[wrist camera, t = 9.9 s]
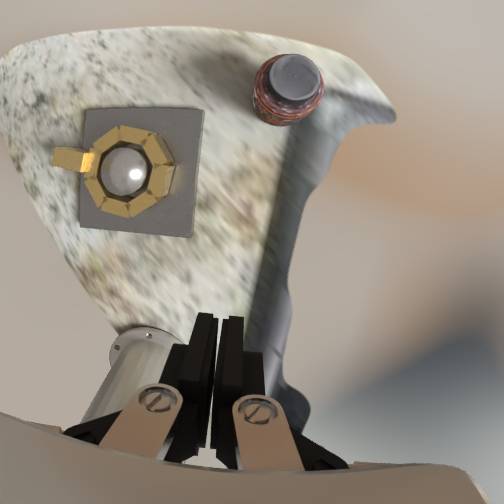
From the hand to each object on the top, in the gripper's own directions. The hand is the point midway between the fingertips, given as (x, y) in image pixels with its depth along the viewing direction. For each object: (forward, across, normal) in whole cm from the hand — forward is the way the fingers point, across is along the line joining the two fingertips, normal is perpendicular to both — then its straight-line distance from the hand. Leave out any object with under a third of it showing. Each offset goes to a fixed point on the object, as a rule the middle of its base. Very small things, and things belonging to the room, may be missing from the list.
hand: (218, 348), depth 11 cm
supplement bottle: (+25, -3, -14) cm, 29 cm away
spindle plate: (+25, +12, -5) cm, 28 cm away
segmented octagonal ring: (+23, +14, -5) cm, 28 cm away
